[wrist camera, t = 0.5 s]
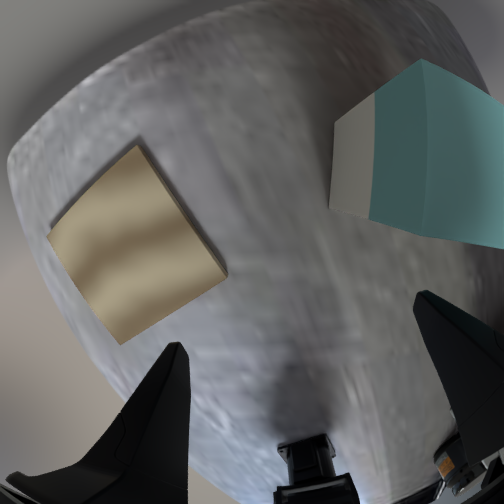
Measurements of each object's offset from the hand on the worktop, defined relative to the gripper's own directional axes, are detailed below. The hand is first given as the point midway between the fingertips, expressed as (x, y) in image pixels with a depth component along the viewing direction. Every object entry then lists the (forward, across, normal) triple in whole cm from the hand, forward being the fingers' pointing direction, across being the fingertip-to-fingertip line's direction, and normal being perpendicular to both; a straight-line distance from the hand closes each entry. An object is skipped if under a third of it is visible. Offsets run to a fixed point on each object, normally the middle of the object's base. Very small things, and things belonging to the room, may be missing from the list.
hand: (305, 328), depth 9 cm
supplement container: (-2, -30, +48) cm, 56 cm away
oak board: (+13, +13, +2) cm, 18 cm away
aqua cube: (+8, -9, -3) cm, 12 cm away
